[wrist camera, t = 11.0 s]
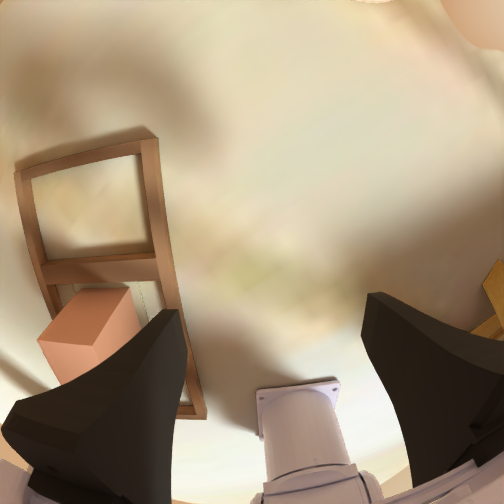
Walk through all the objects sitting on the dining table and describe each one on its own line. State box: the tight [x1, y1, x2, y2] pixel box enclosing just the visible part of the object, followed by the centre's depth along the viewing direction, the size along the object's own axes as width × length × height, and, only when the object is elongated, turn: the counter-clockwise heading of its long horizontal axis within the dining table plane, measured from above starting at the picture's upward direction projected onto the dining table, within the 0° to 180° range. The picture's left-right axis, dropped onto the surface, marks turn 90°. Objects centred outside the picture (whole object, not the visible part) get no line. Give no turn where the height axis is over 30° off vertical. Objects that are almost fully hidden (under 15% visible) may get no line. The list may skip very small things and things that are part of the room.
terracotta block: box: [37, 287, 141, 385], centre depth 17 cm, size 4×4×7 cm
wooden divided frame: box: [14, 138, 207, 420], centre depth 20 cm, size 25×12×1 cm, turn 3°
